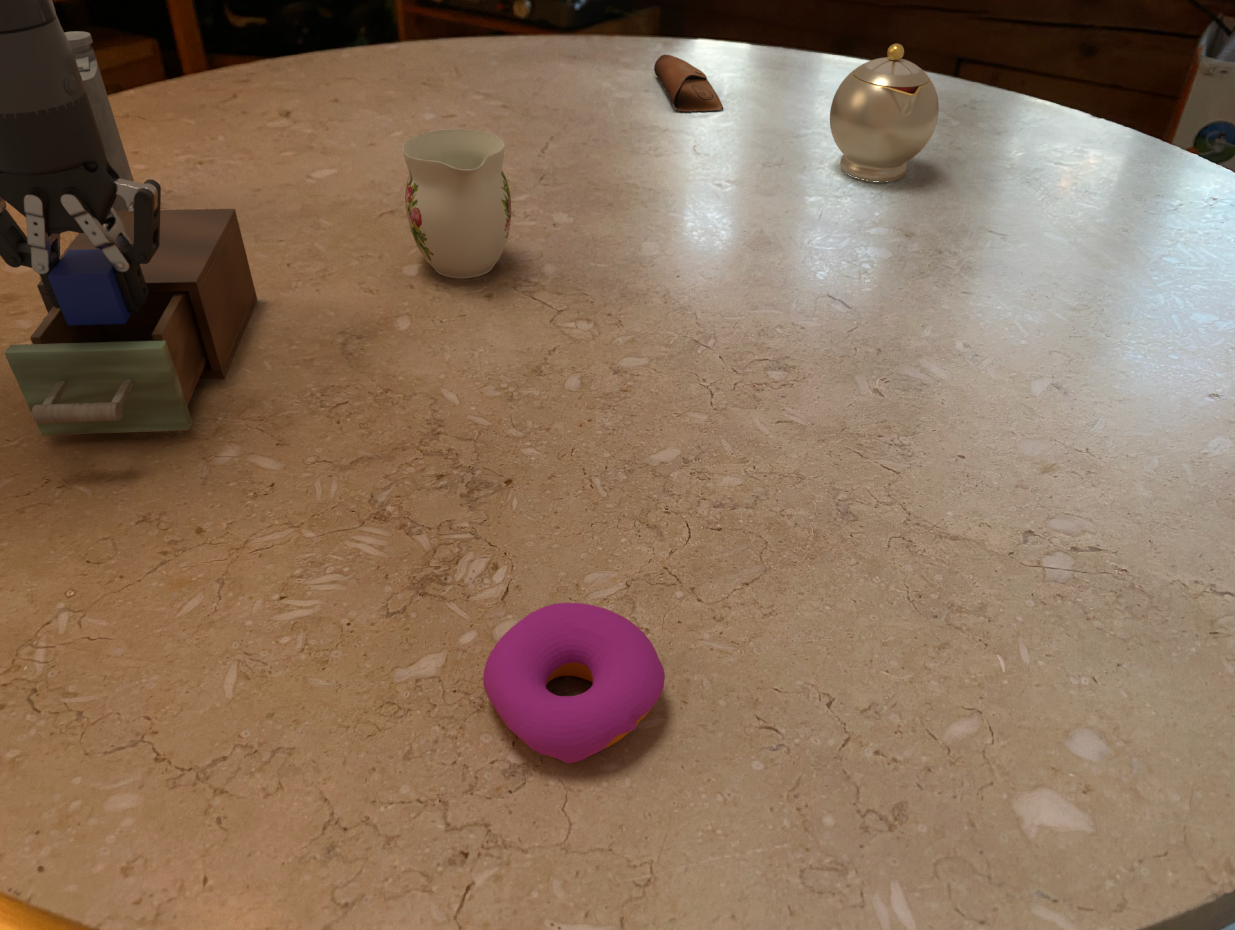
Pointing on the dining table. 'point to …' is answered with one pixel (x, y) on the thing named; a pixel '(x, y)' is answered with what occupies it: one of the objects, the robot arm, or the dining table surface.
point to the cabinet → (198, 275)
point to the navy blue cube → (88, 289)
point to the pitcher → (458, 199)
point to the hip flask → (100, 107)
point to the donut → (580, 649)
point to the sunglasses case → (686, 85)
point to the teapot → (883, 117)
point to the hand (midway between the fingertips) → (104, 308)
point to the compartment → (113, 370)
